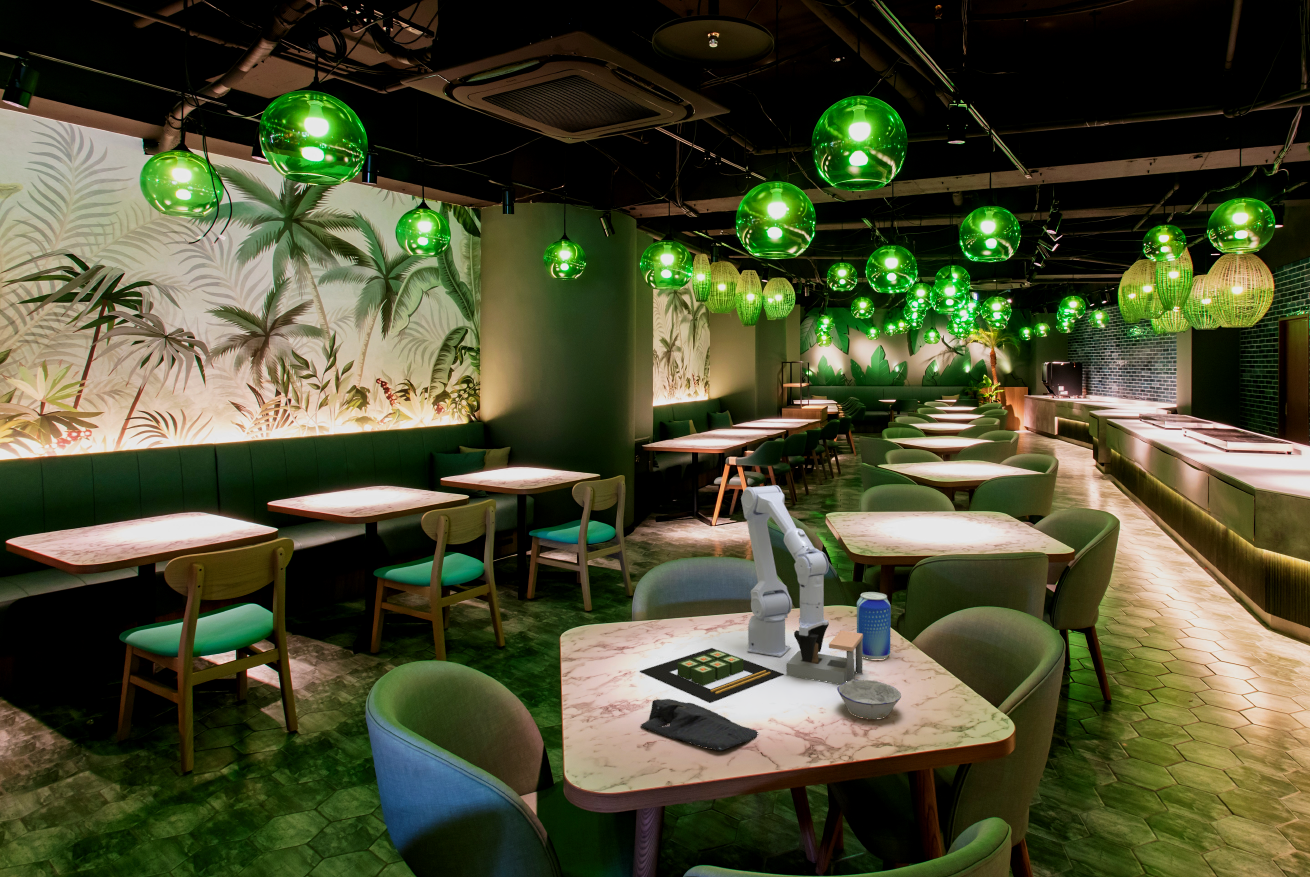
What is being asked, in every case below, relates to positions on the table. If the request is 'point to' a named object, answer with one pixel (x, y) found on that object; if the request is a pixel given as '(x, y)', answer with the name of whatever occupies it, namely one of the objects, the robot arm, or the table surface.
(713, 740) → the black folded cloth
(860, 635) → the raised peach slab
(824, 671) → the socket plate
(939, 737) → the table surface
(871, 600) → the beer can
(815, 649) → the peg
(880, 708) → the bowl
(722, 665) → the sushi
